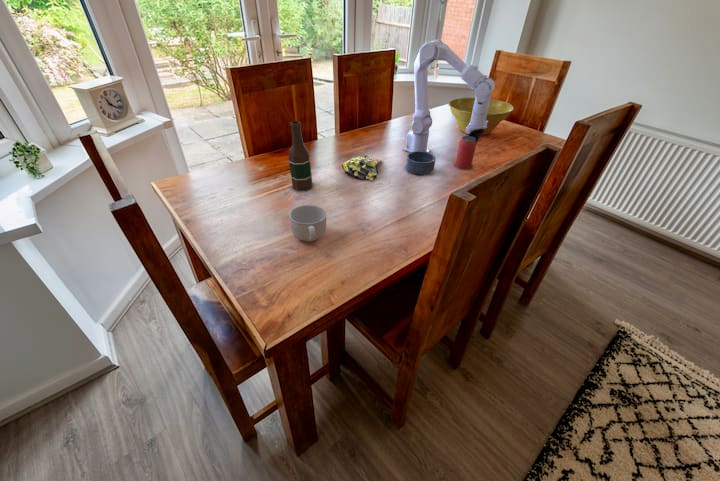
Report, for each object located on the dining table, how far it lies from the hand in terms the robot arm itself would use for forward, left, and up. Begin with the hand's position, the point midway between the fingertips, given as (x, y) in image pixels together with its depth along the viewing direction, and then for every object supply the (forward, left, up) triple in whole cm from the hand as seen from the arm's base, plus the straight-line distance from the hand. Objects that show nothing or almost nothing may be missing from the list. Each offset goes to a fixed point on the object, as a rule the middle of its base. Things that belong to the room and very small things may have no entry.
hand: (472, 146), depth 135 cm
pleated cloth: (-27, -36, -8) cm, 46 cm away
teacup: (-5, -82, -8) cm, 83 cm away
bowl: (-11, -20, -8) cm, 24 cm away
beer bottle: (-33, -64, -8) cm, 73 cm away
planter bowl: (-19, +39, -8) cm, 44 cm away
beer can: (0, -4, -8) cm, 9 cm away
